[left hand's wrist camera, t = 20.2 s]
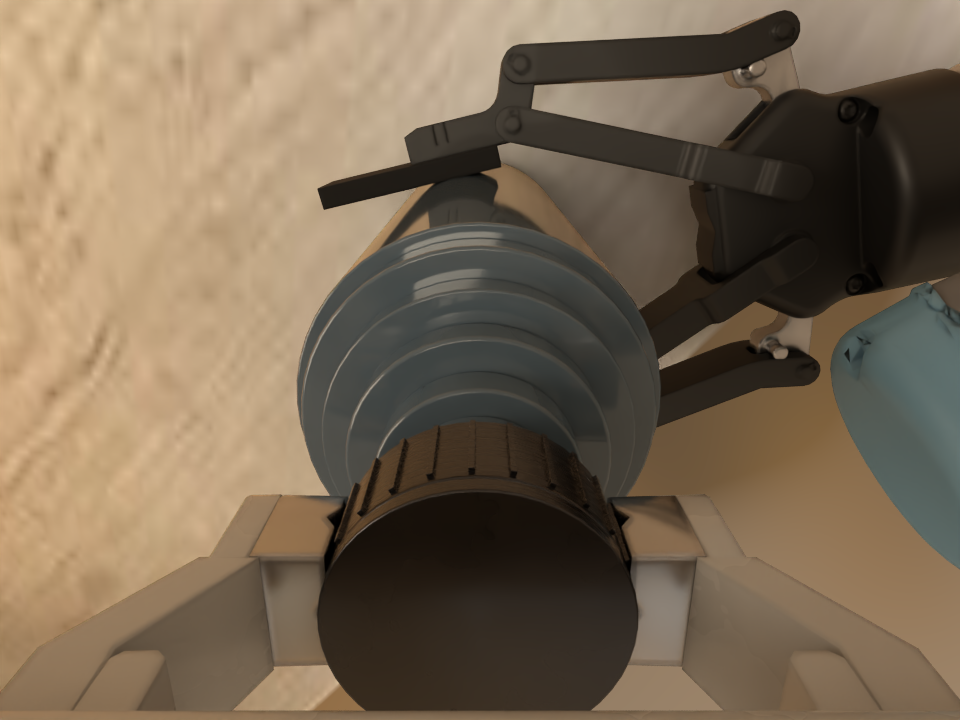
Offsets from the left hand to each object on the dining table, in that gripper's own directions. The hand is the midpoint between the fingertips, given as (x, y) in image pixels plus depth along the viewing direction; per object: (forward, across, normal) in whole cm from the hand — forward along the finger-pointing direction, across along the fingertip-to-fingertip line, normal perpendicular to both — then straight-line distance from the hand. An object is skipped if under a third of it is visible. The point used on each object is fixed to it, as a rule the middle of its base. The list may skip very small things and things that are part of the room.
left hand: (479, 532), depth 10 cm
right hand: (+17, -5, -1) cm, 17 cm away
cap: (-2, 0, 0) cm, 2 cm away
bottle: (+24, 0, 0) cm, 24 cm away
